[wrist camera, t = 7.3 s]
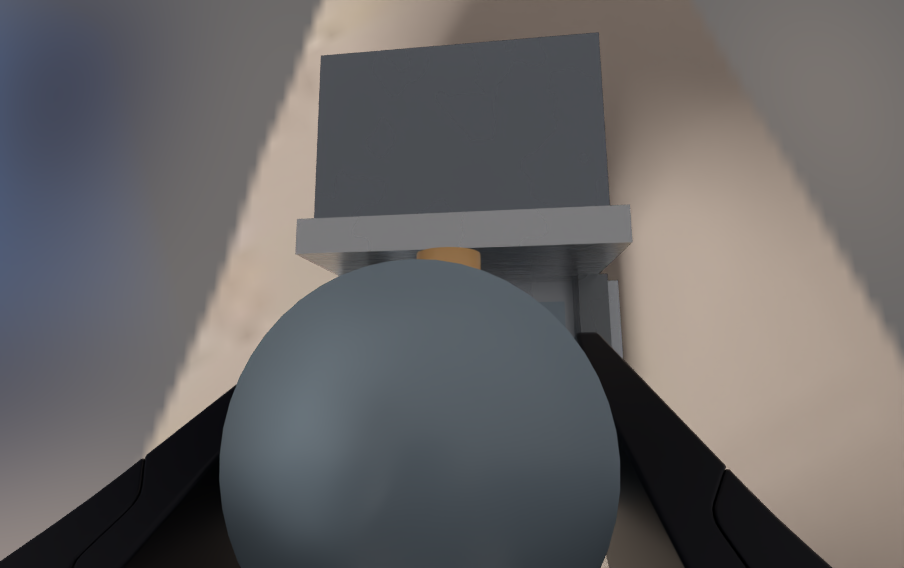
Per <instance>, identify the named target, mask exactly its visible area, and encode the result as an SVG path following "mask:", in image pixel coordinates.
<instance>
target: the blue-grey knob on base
mask: <svg viewBox="0 0 904 568" xmlns="http://www.w3.org/2000/svg"><path fill="white" fill-rule="evenodd" d="M219 482H220V492H221V502H222V510H223V514H224V519H225V523H226V527H227V532H228V536H229V539H230V541H231V544H232V547H233V550H234V553H235V555H236V558H237V561H238V563H239V565H240V567H241V568H601V565H602V563H603V561H604V558H605V556H606V553H607V551H608V549H609V545H610V541H611V538H612V534H613V530H614V526H615V523H616V518H617V510H618V503H619V495H620V456H619V448H618V440H617V433H616V428H615V425H614V421H613V417H612V413H611V409H610V405H609V402H608V400H607V397H606V395H605V392H604V390H603V387H602V385H601V382H600V380H599V377H598V376H597V374H596V372H595V370H594V368H593V367H592V365H591V363H590V361H589V359H588V358H587V356H586V354H585V352H584V351H583V350H582V348H581V347H580V346H579V344H578V343H577V342H576V340H575V339H574V338H573V336H572V335H571V334H570V332H569V331H568V330H567V329H566V324H565V303H564V301H563V302H538V301H536V300H535V299H534V298H533V297H531V296H530V295H529V294H527V293H526V292H524V291H522V290H521V289H519V288H517V287H516V286H514V285H513V284H511V283H509V282H508V281H506V280H503V279H501V278H499V277H497V276H494V275H492V274H490V273H488V272H486V271H483V270H481V258H480V252H478V251H476V250H473V249H469V248H461V247H437V248H429V249H425V250H422V251H419V252H418V253H417V259H407V260H397V261H387V262H383V263H379V264H374V265H370V266H366V267H362V268H360V269H357V270H354V271H351V272H349V273H346V274H343V275H341V276H339V277H337V278H335V279H333V280H331V281H329V282H327V283H326V284H324V285H322V286H320V287H318V288H317V289H315V290H314V291H313V292H311V293H310V294H308V295H307V296H305V297H304V298H302V299H301V300H300V301H298V302H297V303H296V304H295V305H294V306H293V307H292V308H291V309H290V310H288V311H287V312H286V313H285V314H284V315H283V316H282V317H281V318H280V319H279V320H278V321H277V322H276V323H275V325H274V326H273V327H272V328H271V329H270V330H269V331H268V333H267V334H266V335H265V336H264V338H263V339H262V341H261V342H260V343H259V345H258V346H257V348H256V349H255V351H254V352H253V354H252V355H251V357H250V359H249V360H248V362H247V364H246V366H245V368H244V370H243V372H242V374H241V376H240V378H239V380H238V383H237V385H236V388H235V390H234V393H233V396H232V398H231V401H230V404H229V408H228V412H227V416H226V419H225V423H224V427H223V434H222V442H221V449H220V474H219Z"/></svg>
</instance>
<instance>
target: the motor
mask: <svg viewBox="0 0 904 568" xmlns="http://www.w3.org/2000/svg"><path fill="white" fill-rule="evenodd" d="M631 243H632V229H631V215H630V205H610V200H609V185H608V170H607V154H606V139H605V124H604V108H603V93H602V78H601V62H600V47H599V32H598V33H586V34H574V35H562V36H550V37H538V38H526V39H514V40H502V41H490V42H479V43H467V44H455V45H443V46H431V47H419V48H407V49H395V50H383V51H371V52H360V53H348V54H336V55H324V56H321V67H320V91H319V115H318V139H317V164H316V188H315V212H314V218H311V219H297V232H296V253H295V254H297V255H299V256H300V257H302V258H304V259H306V260H308V261H310V262H312V263H314V264H316V265H318V266H320V267H322V268H324V269H326V270H328V271H330V272H332V273H334V274H336V275H338V276H341V275H343V274H346V273H349V272H351V271H354V270H357V269H360V268H362V267H366V266H370V265H374V264H379V263H383V262H387V261H397V260H407V259H417V253H418V252H419V251H422V250H425V249H429V248H437V247H461V248H469V249H473V250H476V251H478V252H480V258H481V270H483V271H486V272H488V273H490V274H492V275H494V276H497V277H499V278H501V279H503V280H506V281H508V282H509V283H511V284H513V285H514V286H516V287H517V288H519V289H521V290H522V291H524V292H526V293H527V294H529V295H530V296H531V297H533V298H534V299H535V300H536V301H538V302H563V301H564V303H565V324H566V329H567V330H568V331H569V332H570V334H571V335H572V336H573V338H574V337H575V335H576V333H578V332H596V333H598V334H600V335H601V336H602V338H603V339H604V340H605V341H606V342H607V343H608V344H609V345H610V346H611V347H612V348H613V349H614V350H615V351H616V352H617V353H618V354H619V355H620V356H621V357H622V358H623V349H622V334H621V319H620V304H619V289H618V280H616V281H608V277H607V274H599V273H600V272H601V271H602V270H603V269H604V268H605V267H607V266H608V265H609V264H610V263H611V262H612V261H613V260H614V259H615V258H616V257H617V256H618V255H619V254H620V253H621V252H623V251H624V250H625V249H626V248H627V247H628V246H629V245H630V244H631Z"/></svg>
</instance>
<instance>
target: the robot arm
mask: <svg viewBox="0 0 904 568" xmlns="http://www.w3.org/2000/svg"><path fill="white" fill-rule="evenodd" d="M574 339H575V340H576V342H577V343H578V344H579V346H580V347H581V348H582V350H583V351H584V352H585V354H586V356H587V358H588V359H589V361H590V363H591V365H592V367H593V368H594V370H595V372H596V374H597V376H598V377H599V380H600V382H601V385H602V387H603V390H604V392H605V395H606V397H607V400H608V402H609V405H610V409H611V413H612V417H613V421H614V425H615V428H616V433H617V440H618V448H619V456H620V495H619V503H618V510H617V518H616V523H615V526H614V530H613V534H612V538H611V541H610V545H609V549H608V551H607V553H606V556H607V560H608V565H609V568H832V567H831V566H830V565H829V564H828V563H827V562H825V561H824V560H823V559H822V558H821V557H820V556H819V555H817V554H816V553H815V552H814V551H813V550H812V549H811V548H810V547H809V546H808V545H806V544H805V543H804V542H803V541H802V540H801V539H800V538H799V537H798V536H797V535H796V534H794V533H793V532H792V531H791V530H790V529H789V528H788V527H787V526H786V525H785V524H784V523H782V522H781V521H780V520H779V519H778V518H777V517H776V516H775V515H774V514H773V513H772V512H771V511H770V510H769V509H768V508H767V507H766V506H765V505H764V504H763V503H762V502H761V501H760V500H759V499H758V498H757V497H756V496H755V495H754V494H753V493H752V492H751V491H750V490H749V489H748V488H747V487H746V486H745V485H744V484H743V483H742V482H741V481H740V480H739V479H738V478H737V477H736V476H735V475H734V474H733V473H732V472H731V471H730V470H729V469H726V470H725V468H726V466H725V465H724V463H723V462H722V461H721V460H720V459H719V458H718V457H717V456H716V455H715V454H714V453H713V452H712V451H711V450H710V449H709V448H708V447H707V446H706V445H705V444H704V443H703V442H702V441H701V440H700V438H699V437H698V436H697V435H696V434H695V433H694V432H693V431H692V430H691V429H690V428H689V427H688V426H687V425H686V424H685V423H684V422H683V421H682V420H681V419H680V418H679V417H678V416H677V415H676V414H675V412H674V411H673V410H672V409H671V408H670V407H669V406H668V405H667V404H666V403H665V402H664V401H663V400H662V399H661V398H660V397H659V396H658V395H657V394H656V393H655V392H654V391H653V390H652V389H651V387H650V386H649V385H648V384H647V383H646V382H645V381H644V380H643V379H642V378H641V377H640V376H639V375H638V374H637V373H636V372H635V371H634V370H633V369H632V368H631V367H630V366H629V365H628V364H627V362H626V361H625V360H624V359H623V358H622V357H621V356H620V355H619V354H618V353H617V352H616V351H615V350H614V349H613V348H612V347H611V346H610V345H609V344H608V343H607V342H606V341H605V340H604V339H603V338H602V336H601V335H600V334H598V333H596V332H578V333H576V335H575V337H574ZM236 385H237V384H236ZM236 385H235V386H234V387H233V388H231V389H230V390H229V391H227V392H226V393H225V394H224V395H222V396H221V397H220V398H219V399H217V400H216V401H215V402H213V403H212V404H211V405H210V406H208V407H207V408H206V409H204V410H203V411H202V412H201V413H199V414H198V415H197V416H196V417H194V418H193V419H192V420H190V421H189V422H188V423H187V424H185V425H184V426H183V427H182V428H180V429H179V430H178V431H176V432H175V433H174V434H173V435H171V436H170V437H169V438H168V439H166V440H165V441H164V442H162V443H161V444H160V445H159V446H157V447H156V448H155V449H153V450H152V451H151V452H150V453H148V454H147V455H146V457H145V459H141V460H139V461H138V462H137V463H135V464H134V465H133V466H132V467H130V468H129V469H128V470H127V471H125V472H124V473H123V474H121V475H120V476H119V477H117V478H116V479H115V480H114V481H112V482H111V483H110V484H108V485H107V486H106V487H104V488H103V489H102V490H100V491H99V492H98V493H96V494H95V495H94V496H92V497H91V498H90V499H88V500H87V501H86V502H84V503H83V504H81V505H80V506H79V507H77V508H76V509H74V510H73V511H72V512H70V513H69V514H67V515H66V516H65V517H63V518H62V519H60V520H59V521H58V522H56V523H55V524H53V525H52V526H50V527H49V528H48V529H46V530H45V531H44V532H42V533H40V534H39V535H37V536H36V537H35V538H33V539H32V540H30V541H29V542H27V543H26V544H25V545H23V546H22V547H20V548H19V549H18V550H16V551H14V552H13V553H11V554H10V555H9V556H7V557H6V558H4V559H3V560H2V561H0V568H241V567H240V565H239V563H238V561H237V558H236V555H235V553H234V550H233V547H232V544H231V541H230V539H229V536H228V532H227V527H226V523H225V519H224V514H223V510H222V502H221V492H220V482H219V474H220V449H221V442H222V434H223V427H224V423H225V419H226V416H227V412H228V408H229V404H230V401H231V398H232V396H233V393H234V390H235V388H236Z"/></svg>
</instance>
